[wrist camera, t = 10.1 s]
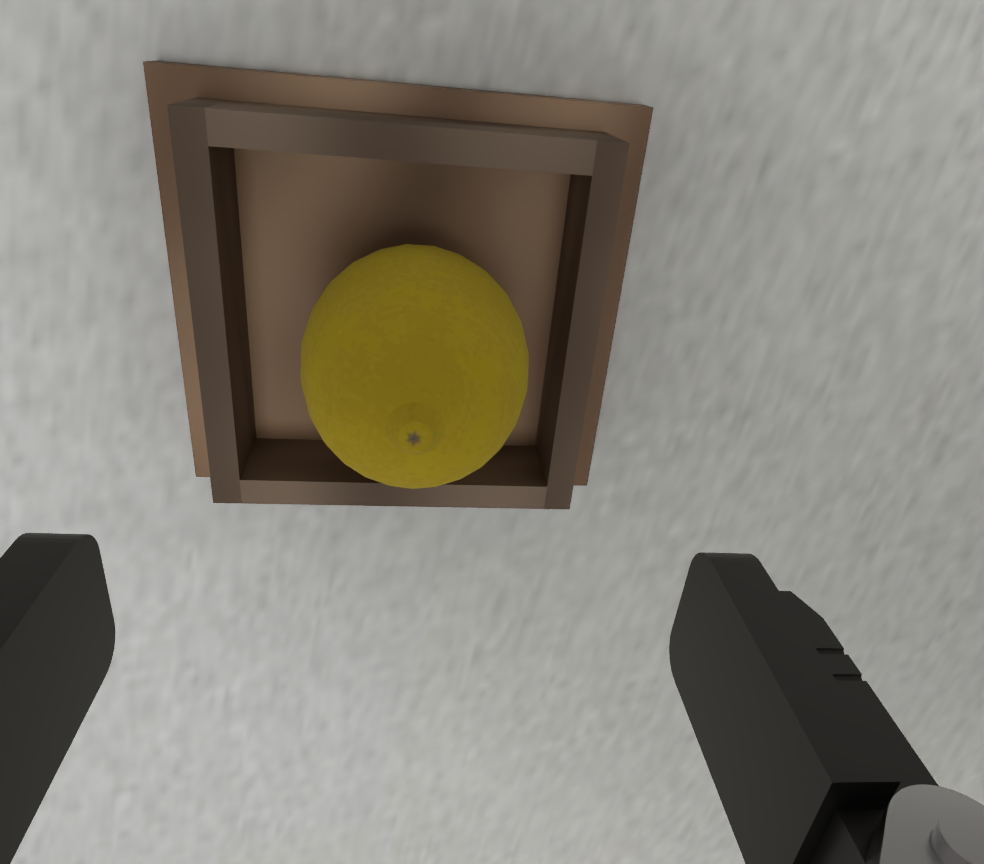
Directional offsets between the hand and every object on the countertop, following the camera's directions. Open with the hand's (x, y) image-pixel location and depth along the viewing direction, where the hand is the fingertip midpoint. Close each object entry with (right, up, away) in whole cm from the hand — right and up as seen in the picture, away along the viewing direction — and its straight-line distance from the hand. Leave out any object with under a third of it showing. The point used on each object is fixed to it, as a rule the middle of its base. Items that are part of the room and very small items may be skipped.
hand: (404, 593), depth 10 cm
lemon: (-1, +6, +12) cm, 13 cm away
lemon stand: (-2, +6, +12) cm, 14 cm away
